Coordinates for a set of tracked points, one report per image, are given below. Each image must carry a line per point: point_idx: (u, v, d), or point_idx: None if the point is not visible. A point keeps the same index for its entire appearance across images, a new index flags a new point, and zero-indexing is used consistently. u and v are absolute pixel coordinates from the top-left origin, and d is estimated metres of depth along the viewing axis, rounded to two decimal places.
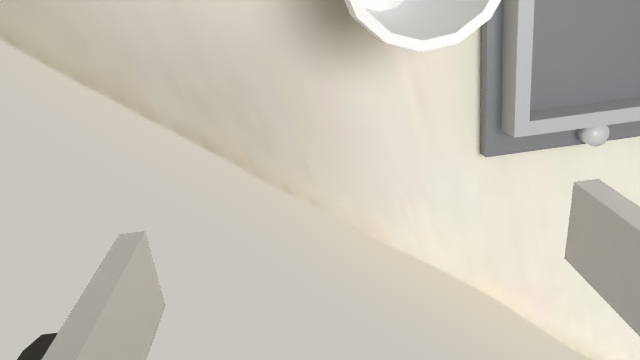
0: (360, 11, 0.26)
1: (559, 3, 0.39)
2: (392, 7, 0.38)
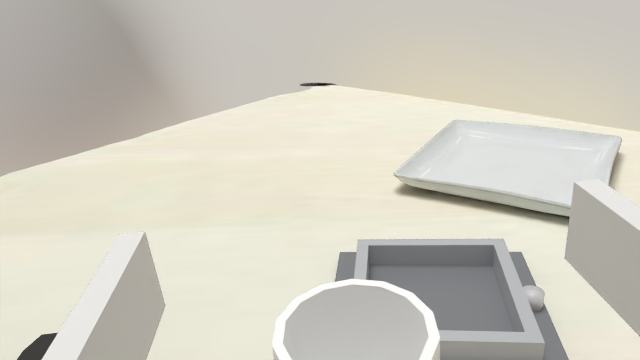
0: None
1: None
2: None
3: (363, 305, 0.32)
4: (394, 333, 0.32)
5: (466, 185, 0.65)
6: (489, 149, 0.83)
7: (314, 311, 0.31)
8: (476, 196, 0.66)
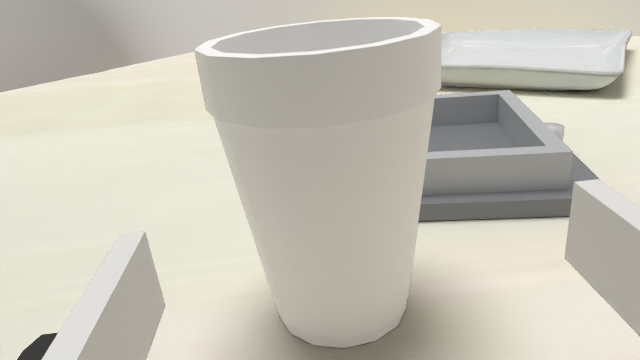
0: (372, 44, 0.15)
1: None
2: None
3: None
4: None
5: (462, 65, 0.57)
6: (485, 54, 0.75)
7: None
8: (474, 79, 0.58)
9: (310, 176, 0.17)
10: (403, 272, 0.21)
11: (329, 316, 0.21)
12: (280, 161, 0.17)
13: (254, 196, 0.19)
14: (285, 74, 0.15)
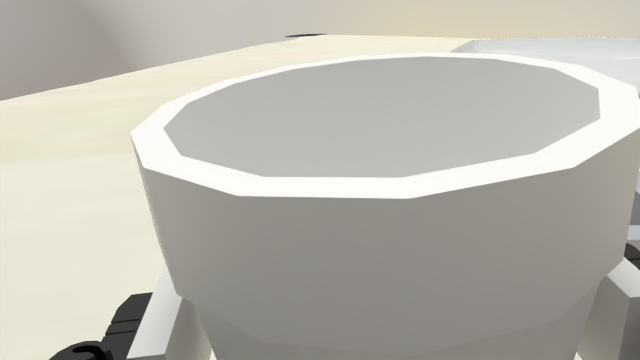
0: (542, 161, 0.06)
1: None
2: None
3: (384, 113, 0.14)
4: None
5: None
6: None
7: (272, 118, 0.13)
8: None
9: None
10: None
11: None
12: None
13: None
14: (325, 237, 0.06)
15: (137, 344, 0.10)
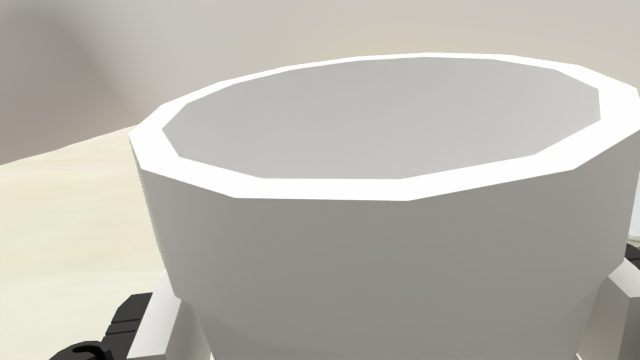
0: (542, 163, 0.06)
1: None
2: None
3: (384, 114, 0.14)
4: None
5: None
6: None
7: (271, 118, 0.13)
8: None
9: None
10: None
11: None
12: None
13: None
14: (324, 239, 0.06)
15: (137, 344, 0.10)
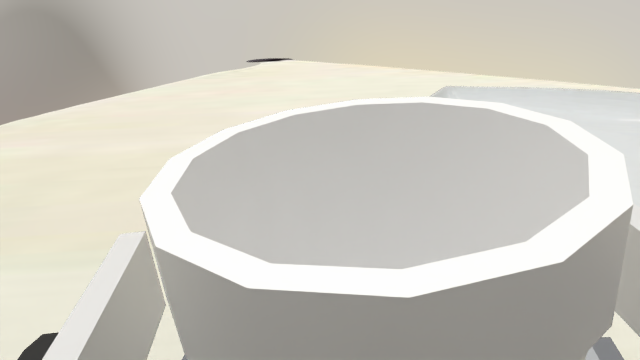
0: (534, 253, 0.07)
1: None
2: None
3: (382, 155, 0.14)
4: (455, 211, 0.14)
5: None
6: None
7: (273, 163, 0.14)
8: None
9: None
10: None
11: None
12: None
13: None
14: (331, 327, 0.06)
15: None
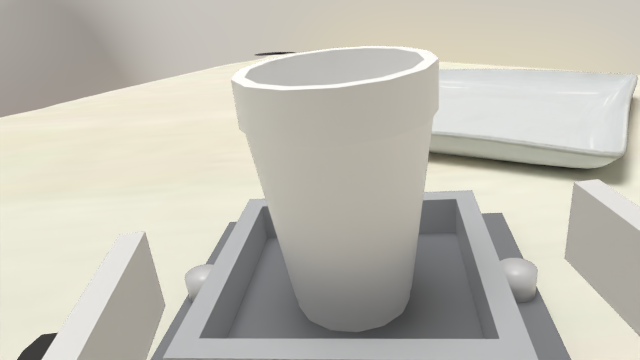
0: (381, 79, 0.19)
1: (312, 331, 0.25)
2: None
3: (345, 78, 0.27)
4: None
5: None
6: (465, 99, 0.64)
7: (287, 80, 0.26)
8: (442, 147, 0.47)
9: (329, 185, 0.21)
10: (407, 266, 0.25)
11: (344, 304, 0.24)
12: (305, 173, 0.21)
13: (280, 202, 0.22)
14: (311, 103, 0.19)
15: None
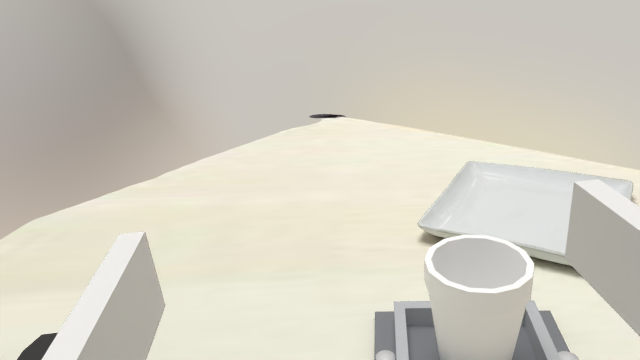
0: (514, 286, 0.41)
1: None
2: None
3: (472, 252, 0.48)
4: (494, 269, 0.48)
5: None
6: (505, 192, 0.86)
7: (442, 255, 0.48)
8: None
9: (483, 330, 0.42)
10: None
11: None
12: (471, 324, 0.42)
13: (452, 332, 0.44)
14: (481, 298, 0.40)
15: None
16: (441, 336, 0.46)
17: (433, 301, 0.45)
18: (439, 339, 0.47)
